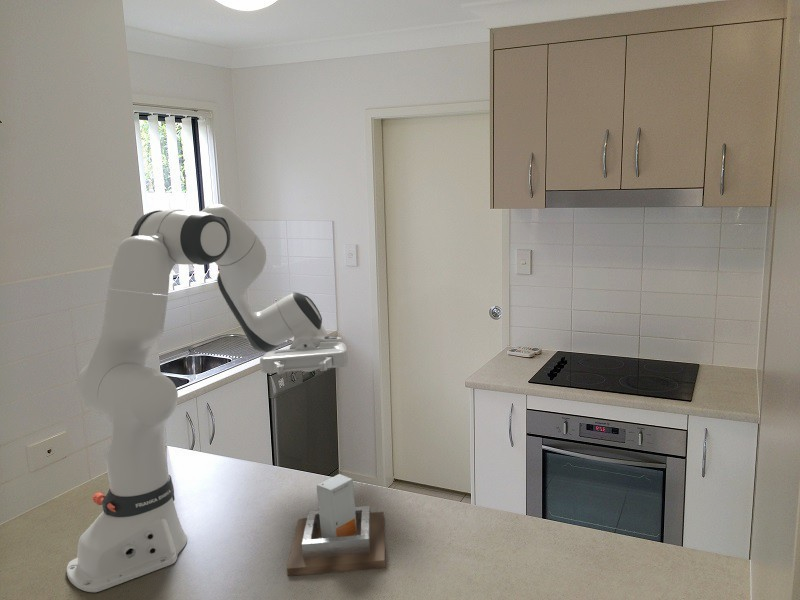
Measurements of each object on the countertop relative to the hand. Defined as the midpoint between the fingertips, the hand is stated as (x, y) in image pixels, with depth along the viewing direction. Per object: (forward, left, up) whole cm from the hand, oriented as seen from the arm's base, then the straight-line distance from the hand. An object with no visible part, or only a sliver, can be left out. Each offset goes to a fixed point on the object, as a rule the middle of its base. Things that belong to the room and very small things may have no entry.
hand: (301, 369), depth 150 cm
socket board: (-10, -21, -30) cm, 38 cm away
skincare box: (-10, -21, -29) cm, 37 cm away
